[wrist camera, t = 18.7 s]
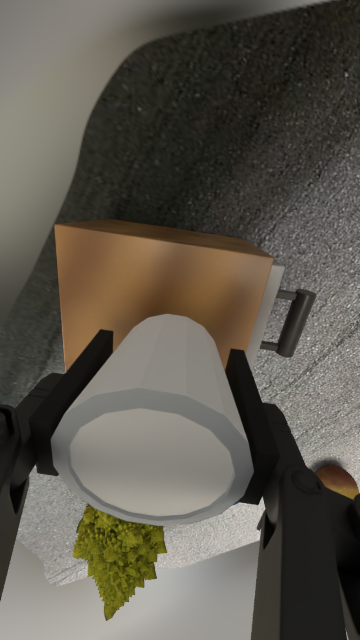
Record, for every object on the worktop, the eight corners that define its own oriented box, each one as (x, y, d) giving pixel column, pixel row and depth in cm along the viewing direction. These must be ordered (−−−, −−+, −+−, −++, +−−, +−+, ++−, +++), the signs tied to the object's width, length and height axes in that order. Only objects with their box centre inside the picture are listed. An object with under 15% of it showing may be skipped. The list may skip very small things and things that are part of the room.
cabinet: (243, 238, 25) (274, 257, 15) (220, 338, 30) (232, 402, 20) (110, 218, 25) (53, 224, 15) (108, 322, 30) (65, 377, 20)
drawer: (299, 254, 24) (351, 276, 16) (268, 345, 29) (297, 398, 21) (130, 229, 24) (97, 238, 16) (126, 323, 29) (98, 368, 20)
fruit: (300, 467, 38) (342, 570, 27) (335, 452, 36) (394, 555, 26) (318, 485, 40) (365, 589, 29) (352, 471, 38) (416, 577, 27)
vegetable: (152, 565, 46) (97, 661, 32) (104, 493, 51) (39, 549, 38) (201, 517, 43) (164, 600, 30) (145, 446, 49) (91, 488, 35)
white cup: (174, 418, 16) (161, 549, 10) (91, 357, 15) (12, 468, 8) (253, 356, 14) (300, 476, 8) (164, 277, 12) (131, 346, 6)
